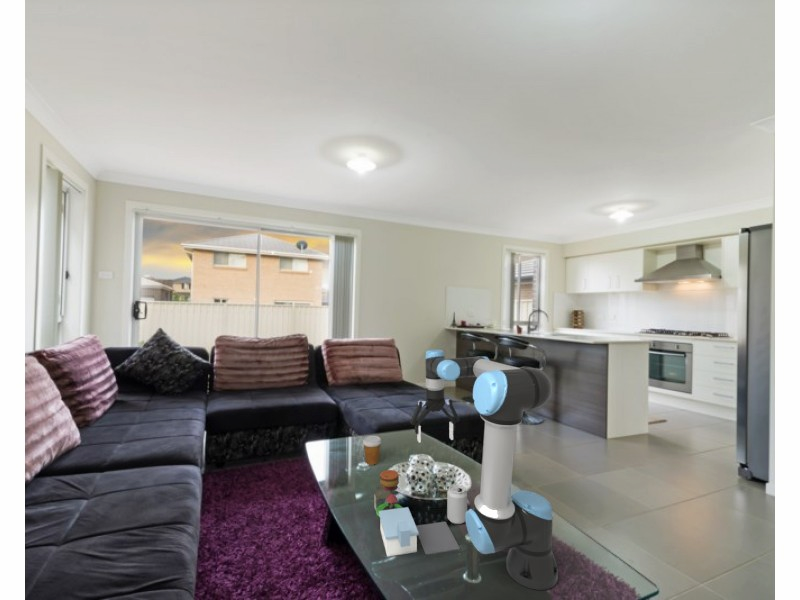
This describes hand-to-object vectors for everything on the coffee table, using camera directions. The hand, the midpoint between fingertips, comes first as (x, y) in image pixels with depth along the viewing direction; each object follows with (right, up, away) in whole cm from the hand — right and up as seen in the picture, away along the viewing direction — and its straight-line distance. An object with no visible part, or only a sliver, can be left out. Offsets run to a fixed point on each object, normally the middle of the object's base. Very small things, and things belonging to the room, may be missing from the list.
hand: (435, 440), depth 154 cm
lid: (-15, -21, -25) cm, 35 cm away
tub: (-15, -27, -22) cm, 38 cm away
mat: (-2, -27, -21) cm, 34 cm away
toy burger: (-18, -27, -4) cm, 33 cm away
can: (+7, -27, -10) cm, 29 cm away
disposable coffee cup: (-28, -25, +37) cm, 53 cm away
